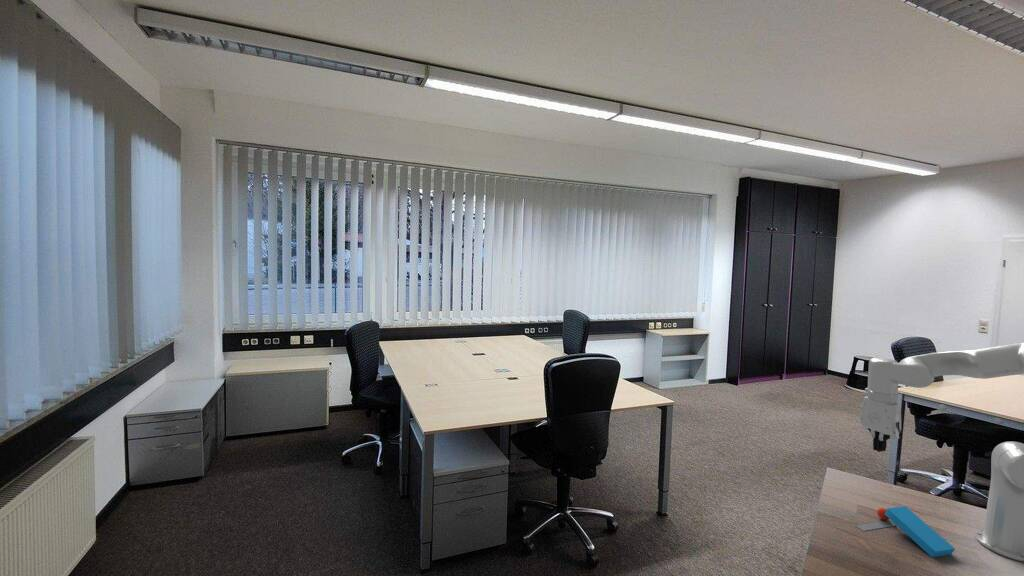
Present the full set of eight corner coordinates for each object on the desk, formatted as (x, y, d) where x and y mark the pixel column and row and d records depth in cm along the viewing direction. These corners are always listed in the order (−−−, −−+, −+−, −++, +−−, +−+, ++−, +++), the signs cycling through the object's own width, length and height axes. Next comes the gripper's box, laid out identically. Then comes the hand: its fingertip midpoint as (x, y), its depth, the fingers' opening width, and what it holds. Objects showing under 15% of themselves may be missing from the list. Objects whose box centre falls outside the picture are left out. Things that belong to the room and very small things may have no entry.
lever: (944, 565, 125) (885, 512, 142) (955, 548, 123) (894, 496, 139) (924, 568, 124) (868, 514, 141) (935, 551, 122) (876, 498, 138)
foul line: (912, 516, 141) (912, 516, 141) (921, 521, 138) (921, 521, 138) (855, 525, 136) (855, 525, 136) (863, 531, 133) (863, 530, 133)
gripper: (850, 390, 147) (848, 442, 149) (897, 405, 132) (894, 462, 134) (868, 388, 149) (865, 439, 150) (916, 403, 134) (913, 459, 136)
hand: (879, 450), depth 142 cm, fingers closed
